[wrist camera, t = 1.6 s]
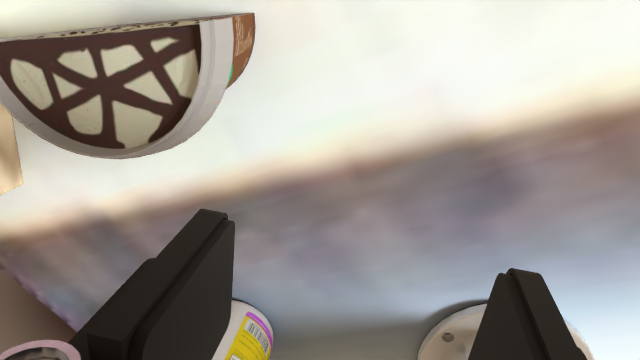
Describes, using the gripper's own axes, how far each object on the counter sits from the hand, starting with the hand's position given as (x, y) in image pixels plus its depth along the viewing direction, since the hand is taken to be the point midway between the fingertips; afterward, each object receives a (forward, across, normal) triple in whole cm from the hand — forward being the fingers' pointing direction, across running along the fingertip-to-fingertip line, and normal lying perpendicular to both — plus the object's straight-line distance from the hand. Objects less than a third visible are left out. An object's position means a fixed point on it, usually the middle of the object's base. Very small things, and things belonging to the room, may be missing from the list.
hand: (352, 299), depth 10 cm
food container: (+20, +12, 0) cm, 23 cm away
